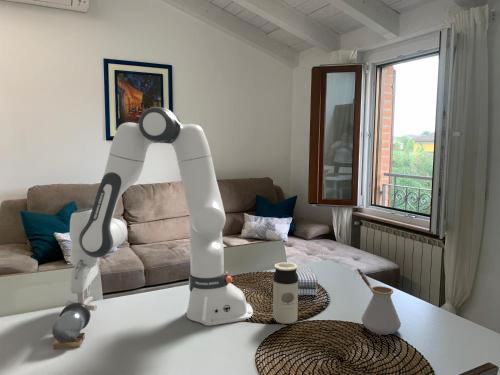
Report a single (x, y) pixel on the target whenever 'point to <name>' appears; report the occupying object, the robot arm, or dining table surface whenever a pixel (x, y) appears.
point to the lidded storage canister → (71, 326)
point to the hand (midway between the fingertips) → (85, 296)
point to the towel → (307, 282)
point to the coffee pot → (380, 310)
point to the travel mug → (285, 293)
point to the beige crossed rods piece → (84, 301)
